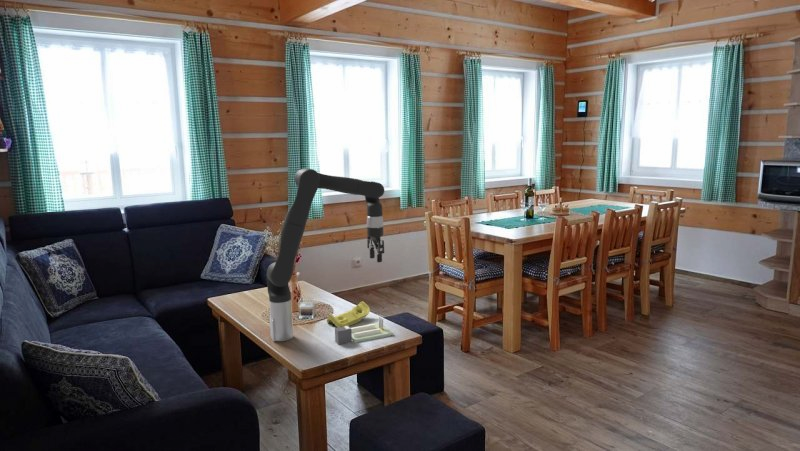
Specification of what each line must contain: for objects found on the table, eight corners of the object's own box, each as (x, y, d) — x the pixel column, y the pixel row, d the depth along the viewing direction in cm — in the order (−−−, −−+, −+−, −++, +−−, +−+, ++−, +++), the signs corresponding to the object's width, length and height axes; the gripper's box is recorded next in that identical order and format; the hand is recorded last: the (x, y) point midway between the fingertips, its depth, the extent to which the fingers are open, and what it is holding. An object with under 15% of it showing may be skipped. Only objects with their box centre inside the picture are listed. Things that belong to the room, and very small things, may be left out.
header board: (354, 342, 230) (354, 328, 229) (344, 332, 242) (343, 319, 241) (393, 335, 238) (393, 321, 237) (381, 325, 250) (381, 312, 248)
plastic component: (340, 325, 245) (327, 311, 250) (337, 337, 248) (325, 323, 254) (374, 311, 258) (361, 299, 263) (370, 323, 262) (358, 310, 267)
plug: (338, 345, 228) (337, 330, 227) (335, 341, 232) (334, 327, 231) (351, 342, 231) (351, 328, 230) (348, 339, 234) (348, 325, 233)
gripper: (361, 224, 253) (362, 257, 256) (373, 228, 240) (374, 264, 243) (376, 222, 256) (377, 256, 259) (389, 227, 244) (389, 262, 246)
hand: (375, 260), depth 251 cm, fingers open, 8 cm apart
